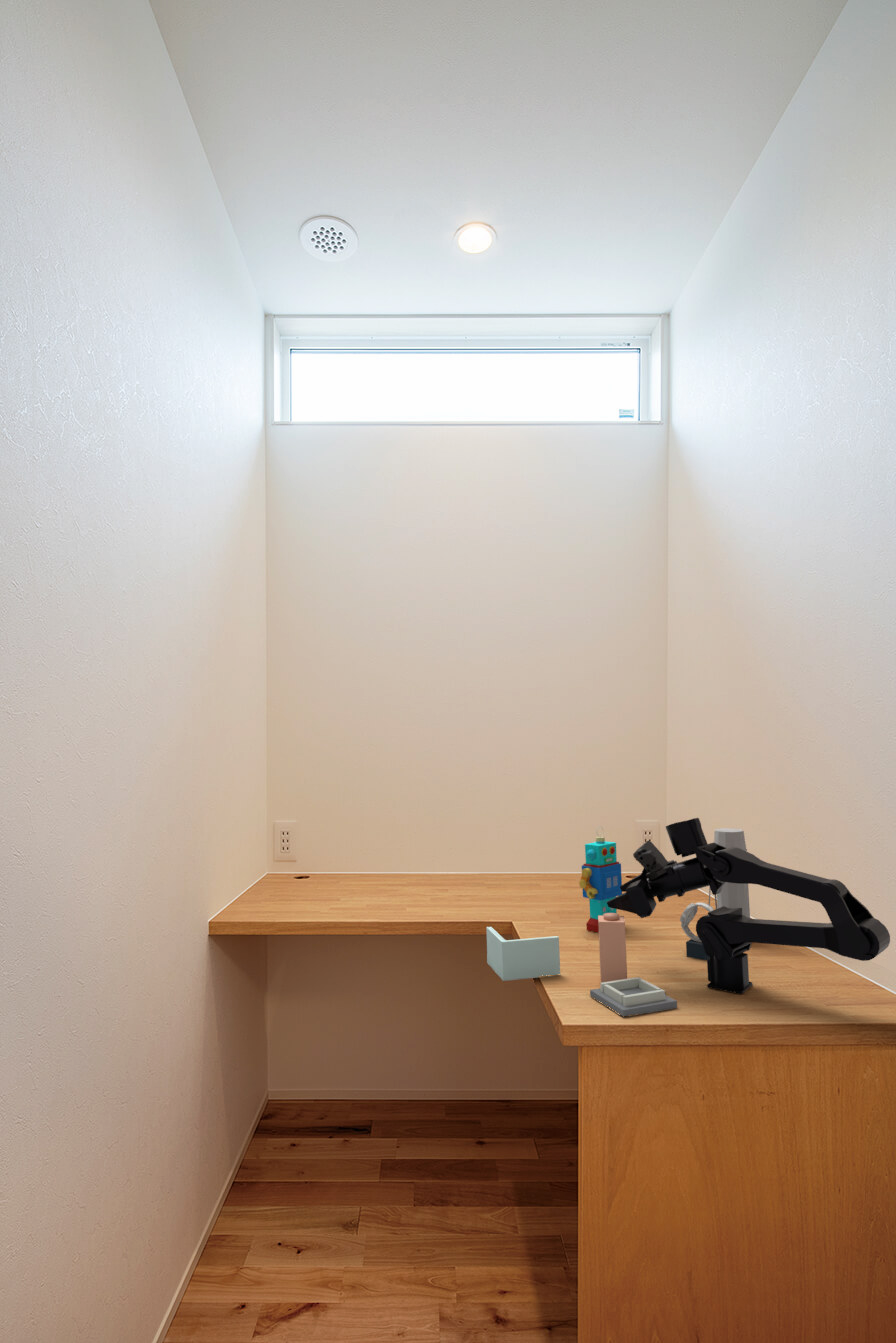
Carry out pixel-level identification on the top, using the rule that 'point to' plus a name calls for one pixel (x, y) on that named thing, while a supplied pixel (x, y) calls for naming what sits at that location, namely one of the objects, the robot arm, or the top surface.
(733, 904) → the water bottle
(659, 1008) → the socket plate
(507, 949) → the l-shaped corner panel
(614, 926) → the pillar
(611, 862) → the toy robot
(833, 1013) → the top surface
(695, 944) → the watch
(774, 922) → the robot arm
